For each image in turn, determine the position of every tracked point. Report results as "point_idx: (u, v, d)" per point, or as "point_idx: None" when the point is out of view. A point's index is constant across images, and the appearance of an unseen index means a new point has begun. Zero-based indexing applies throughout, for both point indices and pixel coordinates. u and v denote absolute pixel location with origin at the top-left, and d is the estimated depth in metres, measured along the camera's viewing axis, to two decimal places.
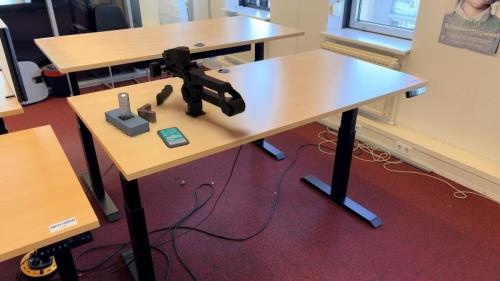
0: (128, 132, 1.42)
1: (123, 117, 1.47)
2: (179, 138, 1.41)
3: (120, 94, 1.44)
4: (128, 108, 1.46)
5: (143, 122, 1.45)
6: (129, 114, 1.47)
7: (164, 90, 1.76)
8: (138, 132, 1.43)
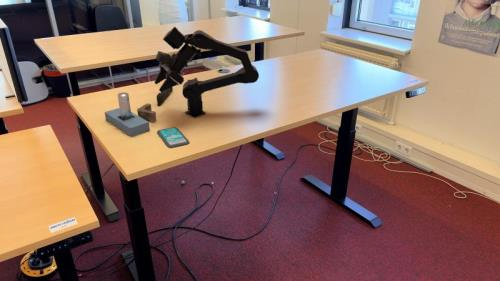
0: (128, 132, 1.42)
1: (123, 117, 1.47)
2: (179, 138, 1.41)
3: (120, 94, 1.44)
4: (128, 108, 1.46)
5: (143, 122, 1.45)
6: (129, 114, 1.47)
7: (164, 90, 1.76)
8: (138, 132, 1.43)
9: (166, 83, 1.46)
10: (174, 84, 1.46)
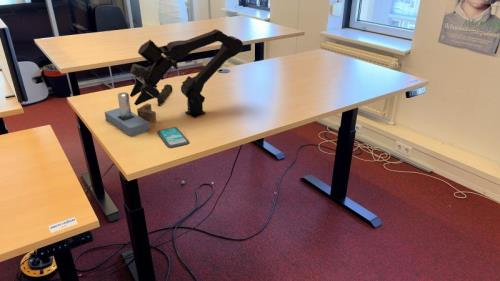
0: (128, 132, 1.42)
1: (123, 117, 1.47)
2: (179, 138, 1.41)
3: (120, 94, 1.44)
4: (128, 108, 1.46)
5: (143, 122, 1.45)
6: (129, 114, 1.47)
7: (164, 90, 1.76)
8: (138, 132, 1.43)
9: (141, 97, 1.42)
10: (149, 98, 1.43)
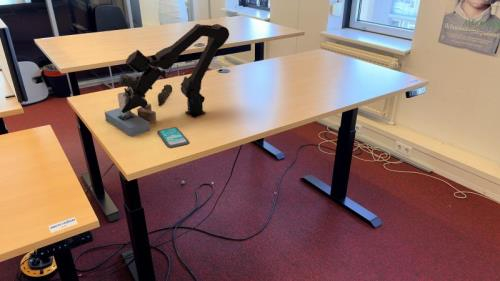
0: (128, 132, 1.42)
1: (123, 117, 1.47)
2: (179, 138, 1.41)
3: (120, 94, 1.44)
4: None
5: (143, 122, 1.45)
6: (129, 114, 1.47)
7: (164, 90, 1.76)
8: (138, 132, 1.43)
9: (128, 104, 1.44)
10: (137, 105, 1.44)
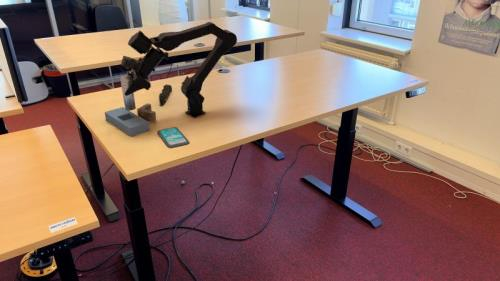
0: (128, 132, 1.42)
1: (126, 100, 1.45)
2: (179, 138, 1.41)
3: (123, 76, 1.42)
4: None
5: (143, 122, 1.45)
6: (132, 97, 1.46)
7: (165, 90, 1.76)
8: (138, 132, 1.43)
9: (131, 87, 1.42)
10: (140, 88, 1.43)
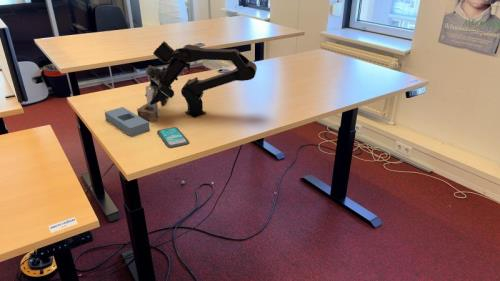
0: (128, 132, 1.42)
1: (150, 109, 1.54)
2: (179, 138, 1.41)
3: (148, 87, 1.52)
4: None
5: (143, 122, 1.45)
6: (156, 106, 1.55)
7: None
8: (138, 132, 1.43)
9: (157, 96, 1.49)
10: (164, 97, 1.50)
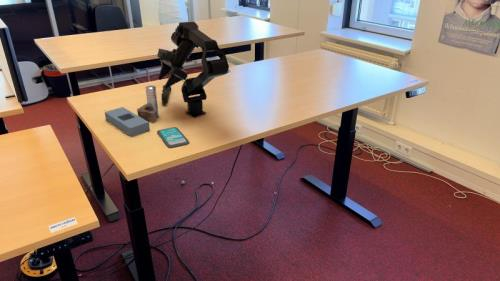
0: (128, 132, 1.42)
1: (150, 109, 1.54)
2: (179, 138, 1.41)
3: (148, 87, 1.52)
4: (155, 100, 1.54)
5: (143, 122, 1.45)
6: (156, 106, 1.55)
7: (165, 90, 1.76)
8: (138, 132, 1.43)
9: (171, 80, 1.50)
10: (178, 80, 1.51)
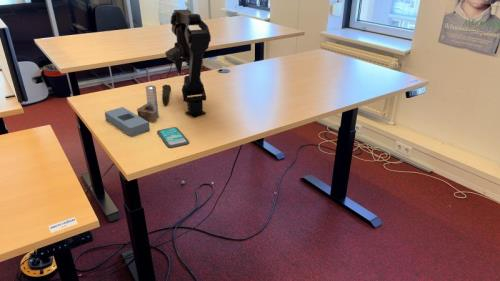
0: (128, 132, 1.42)
1: (150, 109, 1.54)
2: (179, 138, 1.41)
3: (148, 87, 1.52)
4: (155, 100, 1.54)
5: (143, 122, 1.45)
6: (156, 106, 1.55)
7: (165, 90, 1.76)
8: (138, 132, 1.43)
9: None
10: None
